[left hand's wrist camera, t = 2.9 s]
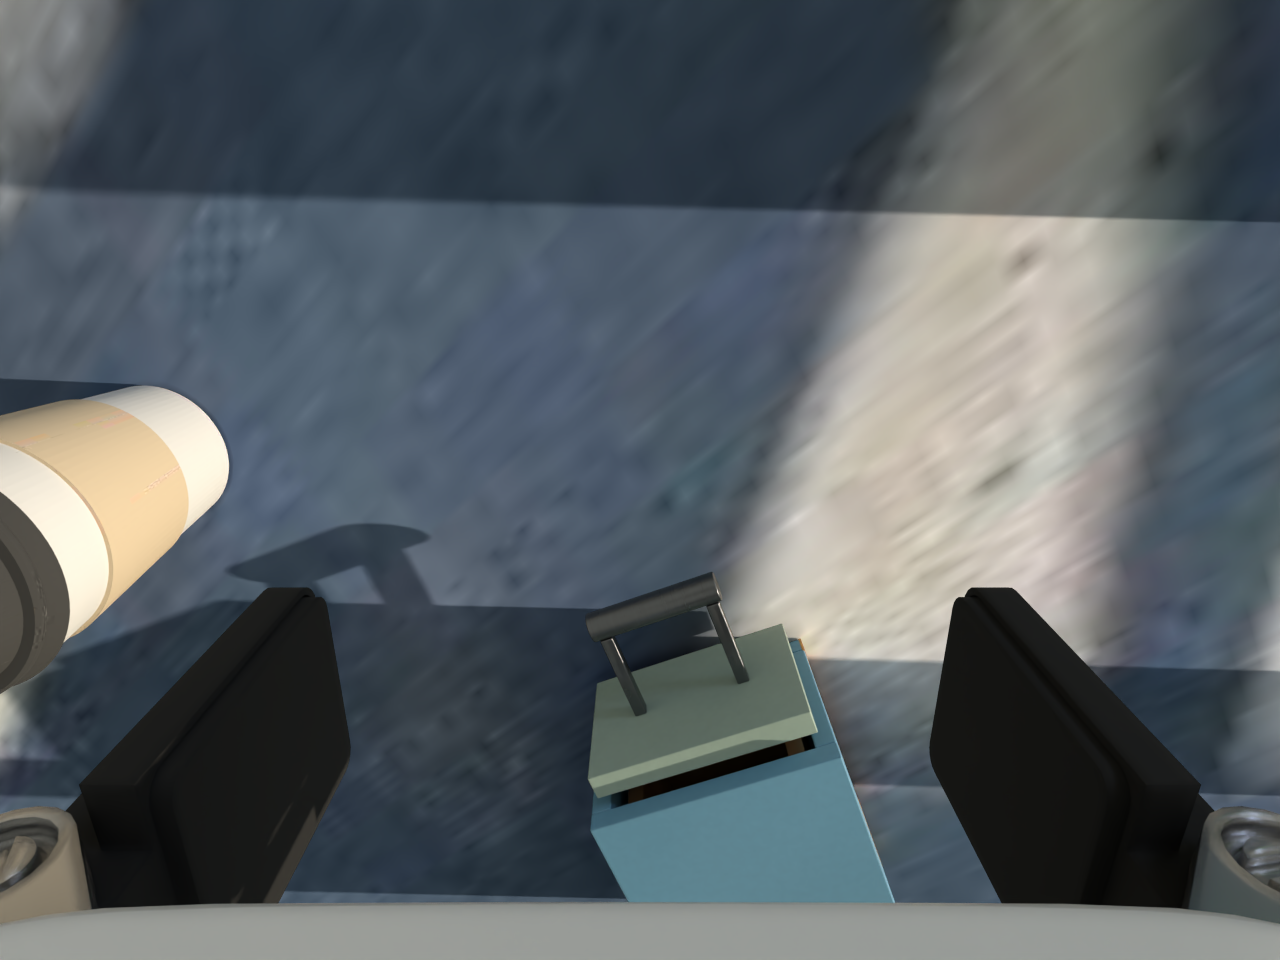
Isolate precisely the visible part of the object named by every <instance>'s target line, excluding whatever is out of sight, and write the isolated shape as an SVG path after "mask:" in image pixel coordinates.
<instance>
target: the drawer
mask: <svg viewBox="0 0 1280 960" xmlns="http://www.w3.org/2000/svg"><path fill="white" fill-rule="evenodd" d="M721 600H722V595H721V591H720V588H719V585H718V582H717V580H716V577H715V575H714V573H713V572H709V573H706V574H704V575H701V576H698V577H695V578H692V579H689V580H686V581H683V582H680V583H677V584H674V585H671V586H668V587H665V588H662V589H659V590H656V591H653V592H650V593H647V594H644V595H641V596H638V597H635V598H632V599H629V600H626V601H623V602H620V603H617V604H614V605H611V606H608V607H606V608H603V609H600V610H597V611H594V612H591V613H588V614H586V625H587V629H588V632H589V634H590V636H591V638H592V640H593V641H594V642H598V641H601V644H602V646H603V648H604V651H605V653H606V655H607V657H608V659H609V661H610V663H611V665H612V668H613V670H614V672H615V674H616V676H617V677H615V678H612V679H609V680H606V681H603V682H599V683H597V690H596V700H595V711H594V721H593V731H592V741H591V752H590V762H589V772H588V781H589V783H590V784H591V786H592V788H593V790H594V792H595V794H596V796H597V798H601V797H604V796H608V795H611V794H614V793H618V792H621V791H624V790H628V789H629V790H628V804H630V803H633V802H637V801H640V800H643V799H647V798H650V797H653V796H657V795H660V794H664V793H667V792H670V791H674V790H677V789H680V788H684V787H687V786H690V785H694V784H697V783H701V782H704V781H707V780H711V779H714V778H717V777H721V776H724V775H727V774H731V773H734V772H737V771H741V770H744V769H748V768H751V767H754V766H758V765H761V764H764V763H768V762H771V761H774V760H778V759H781V758H785V757H788V756H791V755H795V754H798V753H801V752H805V751H808V750H811V747H810V744H809V742H808V739H807V737H806V736H807V735H811V734H814V733H817V732H818V730H817V727H816V724H815V721H814V718H813V715H812V712H811V709H810V706H809V703H808V699H807V696H806V693H805V690H804V687H803V684H802V681H801V678H800V675H799V672H798V669H797V665H796V662H795V659H794V656H793V653H792V650H791V647H790V644H789V641H788V638H787V635H786V633H785V630H784V627H783V624H779V625H776V626H773V627H770V628H767V629H764V630H761V631H758V632H754V633H751V634H748V635H745V636H742V637H739V638H736V639H734V637H733V634H732V631H731V629H730V626H729V624H728V621H727V619H726V616H725V614H724V611H723V609H722V606H721V604H720V601H721ZM704 606H707V609H708V612H709V614H710V617H711V619H712V622H713V624H714V627H715V629H716V632H717V634H718V636H719V639H720V641H721V643H720V644H717V645H714V646H711V647H708V648H705V649H702V650H699V651H696V652H692V653H689V654H686V655H683V656H680V657H677V658H674V659H671V660H668V661H665V662H661V663H658V664H655V665H652V666H649V667H646V668H643V669H640V670H637V671H634V672H631V671H630V669H629V666H628V664H627V662H626V660H625V658H624V656H623V653H622V651H621V649H620V647H619V645H618V643H617V640H616V638H615V636H616V635H619V634H622V633H625V632H628V631H631V630H634V629H637V628H640V627H643V626H646V625H649V624H652V623H655V622H658V621H661V620H664V619H667V618H670V617H673V616H676V615H679V614H683V613H686V612H689V611H692V610H695V609H698V608H701V607H704Z"/></svg>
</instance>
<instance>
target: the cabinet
mask: <svg viewBox="0 0 1280 960" xmlns="http://www.w3.org/2000/svg"><path fill="white" fill-rule="evenodd" d="M789 644H790V647H791V650H792V653H793V656H794V659H795V662H796V665H797V669H798V672H799V675H800V678H801V681H802V684H803V687H804V690H805V693H806V696H807V699H808V703H809V706H810V709H811V712H812V715H813V718H814V721H815V724H816V727H817V730H818V732H817V733H814V734H811V735H807V736H806V737H807V739H808V742H809V744H810V747H811V750H808V751H805V752H801V753H798V754H795V755H791V756H788V757H785V758H781V759H778V760H774V761H771V762H768V763H764V764H761V765H758V766H754V767H751V768H748V769H744V770H741V771H737V772H734V773H731V774H727V775H724V776H721V777H717V778H714V779H711V780H707V781H704V782H701V783H697V784H694V785H690V786H687V787H684V788H680V789H677V790H674V791H670V792H667V793H664V794H660V795H657V796H653V797H650V798H647V799H643V800H640V801H637V802H633V803H630V804H628V790H629V789H628V790H624V791H621V792H618V793H614V794H611V795H608V796H604V797H601V798H597V796H596V794H595V792H594V795H593V806H592V817H591V829H590V831H591V833H592V835H593V837H594V839H595V841H596V843H597V844H598V846H599V848H600V850H601V852H602V854H603V856H604V858H605V859H606V861H607V863H608V865H609V867H610V869H611V871H612V873H613V875H614V876H615V878H616V880H617V882H618V884H619V886H620V888H621V890H622V891H623V893H624V895H625V897H626V899H627V901H628V902H823V903H895V901H894V898H893V895H892V893H891V890H890V887H889V884H888V881H887V878H886V876H885V873H884V870H883V867H882V864H881V861H880V858H879V855H878V853H877V850H876V847H875V844H874V841H873V839H872V836H871V833H870V830H869V828H868V825H867V822H866V819H865V816H864V814H863V811H862V808H861V805H860V803H859V800H858V797H857V794H856V791H855V789H854V786H853V783H852V780H851V778H850V775H849V772H848V769H847V767H846V764H845V761H844V758H843V755H842V753H841V750H840V747H839V744H838V742H837V739H836V736H835V733H834V730H833V728H832V725H831V722H830V719H829V717H828V714H827V711H826V708H825V705H824V703H823V700H822V697H821V694H820V692H819V689H818V686H817V683H816V681H815V678H814V675H813V672H812V669H811V667H810V664H809V661H808V658H807V656H806V653H805V650H804V647H803V644H802V642H801V639H798V640H796V641H793V642H790V643H789Z"/></svg>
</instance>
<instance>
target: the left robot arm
mask: <svg viewBox="0 0 1280 960" xmlns="http://www.w3.org/2000/svg"><path fill="white" fill-rule="evenodd" d="M350 748H351V747H350V739H349V733H348V727H347V721H346V715H345V709H344V703H343V697H342V691H341V686H340V680H339V674H338V668H337V662H336V656H335V650H334V644H333V638H332V633H331V627H330V621H329V615H328V609H327V605H326V602H325V600H324V599H323V598H322V597H315V595H314V593H313V591H312V590H311V589H310V588H267V589H266V590H264V591H263V592H262V593H261V594H260V595H259V597H258V598H257V599H256V600H255V601H254V602H253V603H252V604H251V605H250V606H249V607H248V608H247V609H246V610H245V611H244V612H243V613H242V614H241V615H240V616H239V617H238V619H237V620H236V621H235V622H234V623H233V624H232V625H231V626H230V627H229V628H228V629H227V630H226V631H225V632H224V633H223V634H222V635H221V636H220V637H219V638H218V640H217V641H216V642H215V643H214V644H213V645H212V646H211V647H210V648H209V649H208V650H207V651H206V652H205V653H204V654H203V655H202V656H201V657H200V658H199V659H198V661H197V662H196V663H195V664H194V665H193V666H192V667H191V668H190V669H189V670H188V671H187V672H186V673H185V674H184V675H183V676H182V677H181V678H180V679H179V680H178V682H177V683H176V684H175V685H174V686H173V687H172V688H171V689H170V690H169V691H168V692H167V693H166V694H165V695H164V696H163V697H162V698H161V699H160V700H159V701H158V703H157V704H156V705H155V706H154V707H153V708H152V709H151V710H150V711H149V712H148V713H147V714H146V715H145V716H144V717H143V718H142V719H141V720H140V721H139V722H138V724H137V725H136V726H135V727H134V728H133V729H132V730H131V731H130V732H129V733H128V734H127V735H126V736H125V737H124V738H123V739H122V740H121V741H120V742H119V743H118V745H117V746H116V747H115V748H114V749H113V750H112V751H111V752H110V753H109V754H108V755H107V756H106V757H105V758H104V759H103V760H102V761H101V762H100V763H99V764H98V765H97V767H96V768H95V769H94V770H93V771H92V772H91V773H90V774H89V775H88V776H87V777H86V778H85V779H84V780H83V781H82V782H81V783H80V784H79V786H80V789H81V792H82V794H81V795H80V796H79V797H78V798H77V799H76V800H75V801H74V802H73V803H72V805H71V806H70V807H69V808H68V809H67V810H66V811H64V810H62V809H59V808H57V807H42V806H37V807H30V808H23V809H17V810H13V811H10V812H6V813H3V814H0V960H1280V814H1277V813H1274V812H1270V811H1267V810H1263V809H1257V808H1250V807H1243V806H1238V807H1223V808H1221V809H1218V810H1216V811H1214V810H1213V809H1212V808H1211V807H1210V806H1209V805H1208V803H1207V802H1206V801H1205V800H1204V799H1203V798H1202V797H1201V796H1200V795H1199V794H1198V792H1199V789H1200V786H1201V784H1200V783H1199V782H1198V781H1197V780H1196V779H1195V778H1194V777H1193V776H1192V775H1191V774H1190V773H1189V772H1188V771H1187V770H1186V769H1185V768H1184V767H1183V765H1182V764H1181V763H1180V762H1179V761H1178V760H1177V759H1176V758H1175V757H1174V756H1173V755H1172V754H1171V753H1170V752H1169V751H1168V750H1167V749H1166V748H1165V747H1164V746H1163V745H1162V743H1161V742H1160V741H1159V740H1158V739H1157V738H1156V737H1155V736H1154V735H1153V734H1152V733H1151V732H1150V731H1149V730H1148V729H1147V728H1146V727H1145V726H1144V725H1143V724H1142V722H1141V721H1140V720H1139V719H1138V718H1137V717H1136V716H1135V715H1134V714H1133V713H1132V712H1131V711H1130V710H1129V709H1128V708H1127V707H1126V706H1125V705H1124V704H1123V703H1122V701H1121V700H1120V699H1119V698H1118V697H1117V696H1116V695H1115V694H1114V693H1113V692H1112V691H1111V690H1110V689H1109V688H1108V687H1107V686H1106V685H1105V684H1104V683H1103V682H1102V680H1101V679H1100V678H1099V677H1098V676H1097V675H1096V674H1095V673H1094V672H1093V671H1092V670H1091V669H1090V668H1089V667H1088V666H1087V665H1086V664H1085V663H1084V662H1083V661H1082V659H1081V658H1080V657H1079V656H1078V655H1077V654H1076V653H1075V652H1074V651H1073V650H1072V649H1071V648H1070V647H1069V646H1068V645H1067V644H1066V643H1065V642H1064V641H1063V640H1062V638H1061V637H1060V636H1059V635H1058V634H1057V633H1056V632H1055V631H1054V630H1053V629H1052V628H1051V627H1050V626H1049V625H1048V624H1047V623H1046V622H1045V621H1044V620H1043V619H1042V618H1041V616H1040V615H1039V614H1038V613H1037V612H1036V611H1035V610H1034V609H1033V608H1032V607H1031V606H1030V605H1029V604H1028V603H1027V602H1026V601H1025V600H1024V599H1023V598H1022V597H1021V595H1020V594H1019V593H1018V592H1017V591H1016V590H1014V589H1013V588H970V589H969V590H968V591H967V593H966V595H965V597H958V598H957V599H956V600H955V602H954V605H953V609H952V615H951V621H950V627H949V633H948V638H947V644H946V650H945V656H944V662H943V668H942V674H941V680H940V686H939V691H938V697H937V703H936V709H935V715H934V721H933V727H932V733H931V739H930V747H929V748H930V759H931V763H932V767H933V769H934V772H935V774H936V776H937V778H938V780H939V781H940V783H941V785H942V787H943V789H944V791H945V793H946V795H947V797H948V799H949V801H950V803H951V805H952V807H953V809H954V811H955V813H956V815H957V817H958V819H959V821H960V823H961V824H962V826H963V828H964V830H965V832H966V834H967V836H968V838H969V840H970V842H971V844H972V846H973V848H974V850H975V852H976V854H977V856H978V858H979V860H980V862H981V864H982V866H983V867H984V869H985V871H986V873H987V875H988V877H989V879H990V881H991V883H992V885H993V887H994V889H995V891H996V893H997V895H998V897H999V899H1000V901H1001V903H823V902H457V903H279V901H280V899H281V897H282V895H283V893H284V891H285V889H286V887H287V885H288V883H289V881H290V879H291V877H292V875H293V873H294V871H295V869H296V867H297V866H298V864H299V862H300V860H301V858H302V856H303V854H304V852H305V850H306V848H307V846H308V844H309V842H310V840H311V838H312V836H313V834H314V832H315V830H316V828H317V826H318V824H319V823H320V821H321V819H322V817H323V815H324V813H325V811H326V809H327V807H328V805H329V803H330V801H331V799H332V797H333V795H334V793H335V791H336V789H337V787H338V785H339V783H340V781H341V780H342V778H343V776H344V774H345V772H346V769H347V767H348V763H349V759H350Z"/></svg>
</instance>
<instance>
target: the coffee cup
mask: <svg viewBox="0 0 1280 960" xmlns="http://www.w3.org/2000/svg"><path fill="white" fill-rule="evenodd" d="M228 473H229V461H228V454H227V450H226V446H225V443H224V441H223V439H222V436H221V434H220V433H219V431H218V429H217V427H216V426H215V425H214V423H213V422H212V421H211V419H210V418H209V417H208V416H207V415H206V414H205V413H204V412H203V411H202V410H201V409H200V408H199V407H198V406H197V405H195V404H194V403H193V402H191V401H190V400H188V399H187V398H185V397H183V396H181V395H179V394H177V393H175V392H172V391H170V390H167V389H164V388H159V387H154V386H133V387H128V388H124V389H120V390H116V391H112V392H108V393H104V394H100V395H96V396H92V397H88V398H84V399H74V400H64V401H58V402H54V403H50V404H46V405H42V406H38V407H33V408H29V409H25V410H21V411H17V412H13V413H9V414H5V415H0V694H1V693H2V692H4V691H6V690H7V689H9V688H10V687H12V686H15V685H18V684H20V683H22V682H25V681H27V680H28V679H30V678H32V677H34V676H35V675H37V674H38V673H39V672H41V671H42V670H43V669H44V668H45V667H47V666H48V665H49V664H50V662H51V661H52V660H53V659H54V658H55V656H56V655H57V653H58V652H59V650H60V648H61V647H62V644H63V643H64V642H65V641H66V640H67V639H68V638H70V637H72V636H74V635H76V634H78V633H79V632H81V631H82V630H84V629H85V628H86V627H88V626H89V625H90V624H91V623H92V622H93V621H94V620H95V619H96V618H97V617H98V616H100V615H101V614H102V613H103V612H104V611H105V610H106V609H107V608H108V607H109V606H110V605H111V604H112V603H113V602H114V601H115V600H116V599H117V598H118V597H119V596H120V595H122V594H123V593H124V592H125V591H126V590H127V589H128V588H129V587H130V586H131V585H132V584H133V583H134V582H135V581H136V580H137V579H138V578H139V577H140V576H141V575H143V574H144V573H145V572H146V571H147V570H148V569H149V568H150V567H151V566H152V565H153V564H154V563H155V562H156V561H157V560H158V559H159V558H160V557H161V556H162V555H163V554H165V553H166V552H167V551H168V550H169V549H170V548H171V547H172V546H173V545H174V544H175V542H176V541H177V540H178V538H179V537H180V535H181V534H182V533H183V532H184V531H185V530H186V529H187V528H189V527H190V526H191V525H192V524H193V523H194V522H195V521H196V520H197V519H198V518H199V517H201V516H202V515H203V514H204V513H205V512H206V511H207V510H208V509H209V508H210V507H211V506H212V505H214V504H215V502H216V501H217V500H218V499H219V498H220V496H221V494H222V493H223V491H224V489H225V486H226V483H227V479H228Z"/></svg>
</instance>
